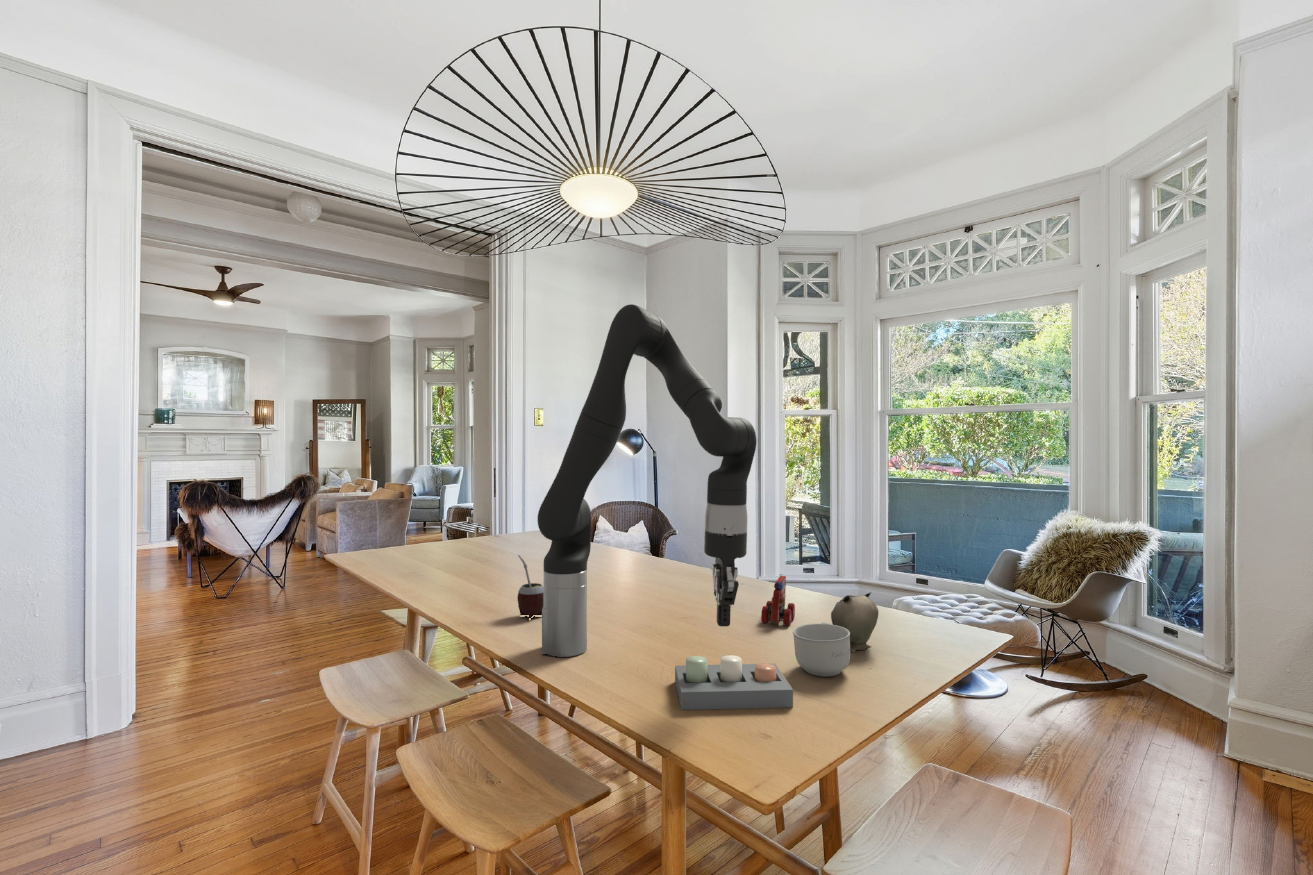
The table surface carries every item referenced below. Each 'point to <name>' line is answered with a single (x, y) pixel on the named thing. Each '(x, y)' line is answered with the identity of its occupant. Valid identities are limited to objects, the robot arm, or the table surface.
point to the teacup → (822, 648)
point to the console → (732, 691)
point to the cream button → (731, 669)
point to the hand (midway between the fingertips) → (723, 625)
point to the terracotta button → (765, 672)
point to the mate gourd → (530, 596)
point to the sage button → (696, 669)
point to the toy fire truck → (778, 605)
